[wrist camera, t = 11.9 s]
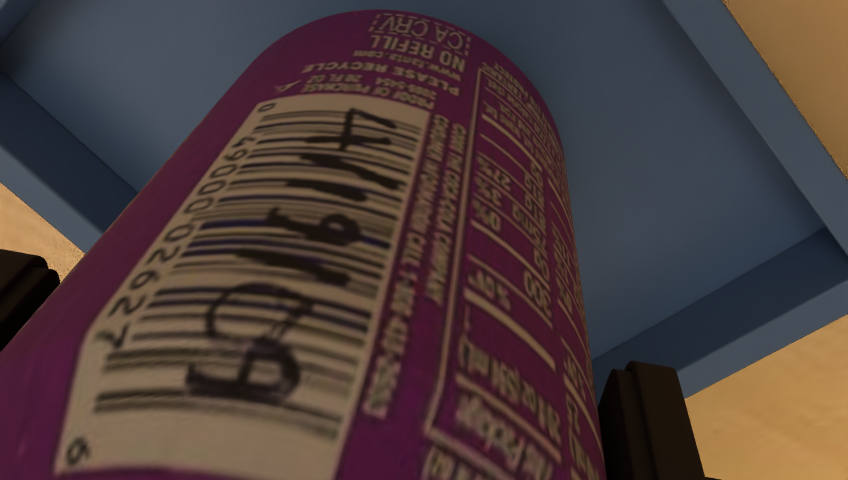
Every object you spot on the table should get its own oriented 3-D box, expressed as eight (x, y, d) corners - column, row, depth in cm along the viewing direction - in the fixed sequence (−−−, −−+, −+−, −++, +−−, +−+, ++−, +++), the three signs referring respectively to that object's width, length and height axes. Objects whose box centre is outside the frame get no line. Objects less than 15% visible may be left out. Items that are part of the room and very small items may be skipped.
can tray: (-43, 46, 19) (-118, 85, 16) (381, -477, 13) (352, -528, 11) (429, 465, 24) (420, 536, 22) (869, 217, 18) (917, 278, 16)
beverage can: (162, 161, 17) (-355, 744, 7) (386, -86, 14) (63, 298, 4) (397, 356, 19) (270, 1024, 9) (635, 178, 16) (843, 868, 6)
